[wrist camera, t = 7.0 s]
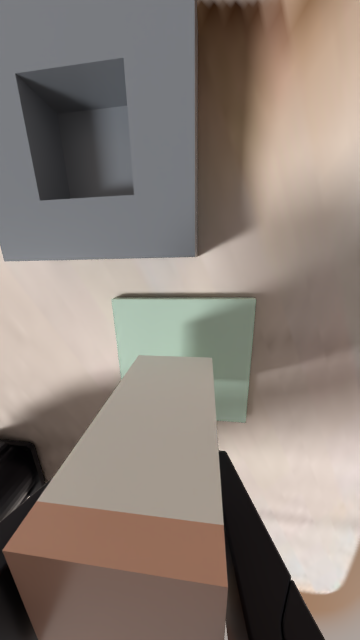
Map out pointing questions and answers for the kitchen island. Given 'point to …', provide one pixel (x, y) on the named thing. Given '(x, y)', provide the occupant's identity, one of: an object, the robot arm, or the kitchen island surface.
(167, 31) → the grey square socket block
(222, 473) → the robot arm
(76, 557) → the plug
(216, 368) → the mat
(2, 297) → the kitchen island surface
